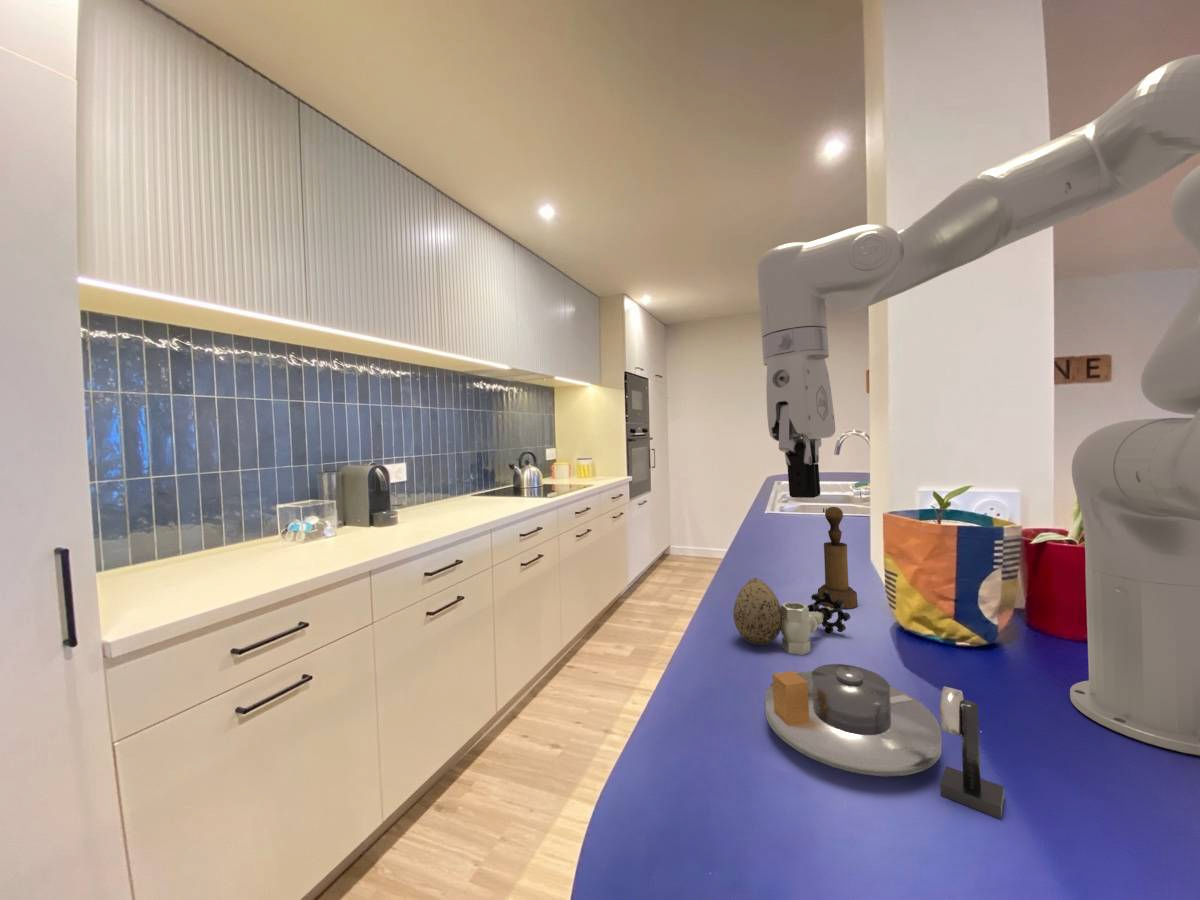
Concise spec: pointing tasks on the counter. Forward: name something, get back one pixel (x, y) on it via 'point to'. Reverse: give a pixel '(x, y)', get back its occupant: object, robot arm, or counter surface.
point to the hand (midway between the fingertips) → (804, 496)
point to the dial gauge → (967, 757)
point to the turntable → (883, 754)
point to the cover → (851, 699)
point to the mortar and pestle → (836, 563)
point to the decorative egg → (757, 613)
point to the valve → (809, 621)
